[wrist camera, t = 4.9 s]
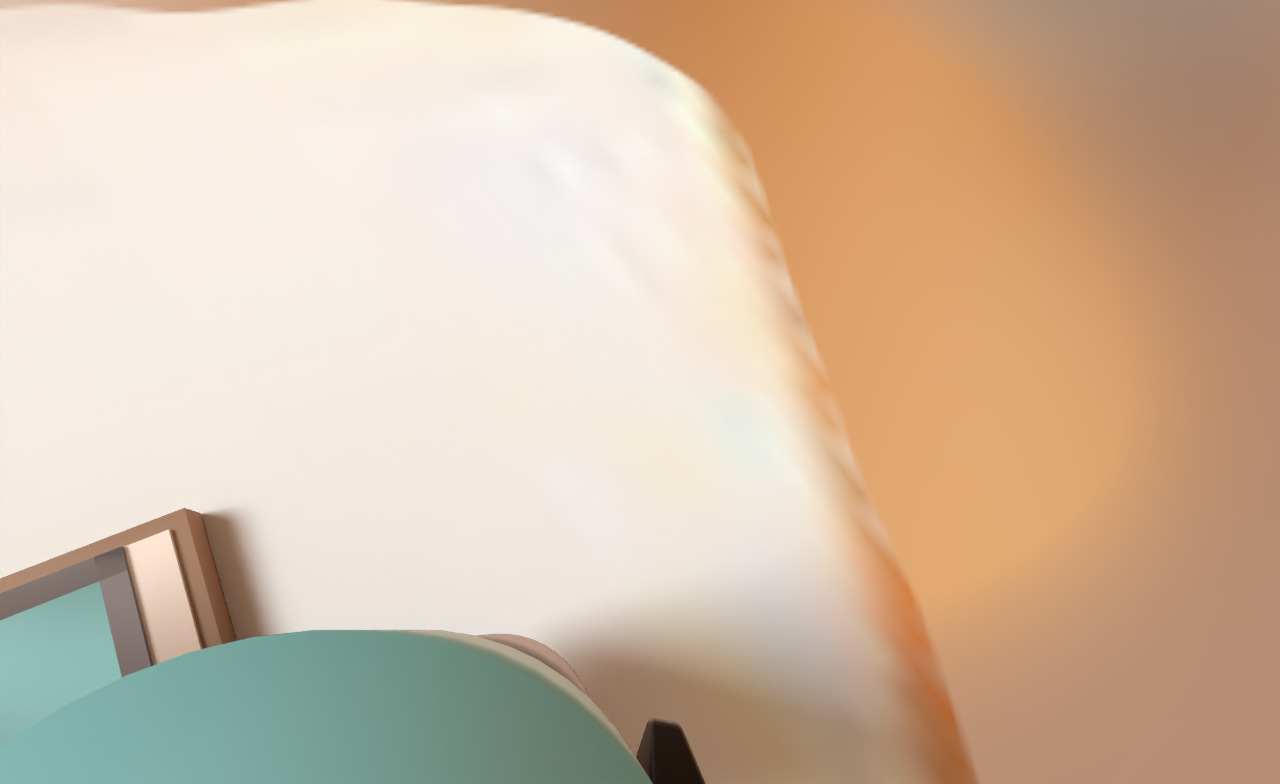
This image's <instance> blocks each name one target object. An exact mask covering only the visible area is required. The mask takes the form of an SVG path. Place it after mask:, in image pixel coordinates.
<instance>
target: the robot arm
mask: <svg viewBox="0 0 1280 784" xmlns="http://www.w3.org/2000/svg"><path fill="white" fill-rule="evenodd" d="M636 758H637V760H638V761H639V763H640V765H641V766H642V768H643V769H644V771H645V772H646V774H647V775H648V777H649V778H650V780H651V782H652V783H653V784H705V781H704V779H703V777H702V774H701V772H700V769H699V767H698V765H697V762H696V760H695V758H694V755H693V753H692V751H691V748H690V746H689V744H688V741H687V739H686V737H685V734H684V732H683V730H682V728H681V726H680V725H679V724H678V723H675V722H671V721H666V720H661V719H656V718H652V719H650V720H649V721H648V723H647V725H646V728H645V731H644V735H643V738H642V741H641V744H640V747H639V750H638V753H637V756H636Z"/></svg>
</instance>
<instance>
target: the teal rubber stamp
mask: <svg viewBox="0 0 1280 784" xmlns="http://www.w3.org/2000/svg"><path fill="white" fill-rule="evenodd" d="M0 784H653V783H652V782H651V780H650V778H649V777H648V775H647V774H646V772H645V771H644V769H643V768H642V766H641V765H640V763H639V761H638V760H637V758H636V757H635V755H634V754H633V752H632V751H631V749H630V748H629V746H628V745H627V743H626V742H625V740H624V739H623V737H622V736H621V734H620V733H619V731H618V730H617V728H616V727H615V726H614V725H613V724H612V723H611V721H610V720H609V719H608V718H607V717H606V716H605V714H604V713H603V712H602V711H601V710H600V709H599V708H598V706H597V705H596V704H595V703H594V702H593V701H592V700H591V699H590V697H589V695H588V693H587V691H586V689H585V688H584V686H583V684H582V682H581V680H580V679H579V677H578V676H577V674H576V673H575V671H574V670H573V669H572V668H571V667H570V665H569V664H568V663H567V662H566V661H565V660H564V659H563V658H562V657H561V656H559V655H558V654H557V653H556V652H555V651H553V650H551V649H550V648H548V647H547V646H545V645H543V644H541V643H539V642H537V641H535V640H532V639H529V638H526V637H522V636H517V635H511V634H489V635H478V636H474V635H467V634H461V633H455V632H448V631H442V630H312V631H303V632H294V633H285V634H276V635H267V636H258V637H251V638H246V639H242V640H238V641H234V642H230V643H226V644H221V645H217V646H213V647H209V648H205V649H200V650H196V651H192V652H189V653H186V654H183V655H181V656H178V657H175V658H172V659H170V660H167V661H164V662H161V663H159V664H156V665H153V666H150V667H148V668H145V669H142V670H140V671H137V672H134V673H131V674H129V675H126V676H124V677H122V678H120V679H118V680H116V681H114V682H112V683H110V684H108V685H106V686H104V687H102V688H100V689H98V690H96V691H94V692H92V693H90V694H88V695H86V696H84V697H82V698H80V699H78V700H76V701H74V702H72V703H70V704H68V705H66V706H64V707H62V708H60V709H59V710H57V711H55V712H54V713H52V714H51V715H49V716H48V717H46V718H44V719H43V720H41V721H40V722H38V723H37V724H35V725H33V726H32V727H30V728H29V729H27V730H25V731H24V732H22V733H21V734H19V735H18V736H16V737H14V738H13V739H11V740H10V741H8V742H6V743H5V744H3V745H2V746H0Z"/></svg>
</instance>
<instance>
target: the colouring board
mask: <svg viewBox="0 0 1280 784" xmlns="http://www.w3.org/2000/svg"><path fill="white" fill-rule="evenodd" d="M234 641H236V638H235V634H234V631H233V627H232V624H231V620H230V617H229V613H228V609H227V606H226V602H225V599H224V595H223V592H222V588H221V585H220V581H219V578H218V574H217V571H216V567H215V564H214V560H213V557H212V553H211V549H210V546H209V542H208V539H207V535H206V532H205V528H204V525H203V521H202V518H201V514H200V513H198V512H195V511H192V510H189V509H186V508H183V509H181V510H178V511H175V512H173V513H170V514H167V515H165V516H162V517H160V518H157V519H154V520H152V521H149V522H147V523H144V524H141V525H139V526H136V527H134V528H131V529H128V530H126V531H123V532H121V533H118V534H115V535H113V536H110V537H107V538H105V539H102V540H100V541H97V542H94V543H92V544H89V545H87V546H84V547H81V548H79V549H76V550H74V551H71V552H68V553H66V554H63V555H61V556H58V557H55V558H53V559H50V560H48V561H45V562H42V563H40V564H37V565H34V566H32V567H29V568H27V569H24V570H21V571H19V572H16V573H14V574H11V575H8V576H6V577H3V578H1V579H0V746H2V745H3V744H5V743H6V742H8V741H10V740H11V739H13V738H14V737H16V736H18V735H19V734H21V733H22V732H24V731H25V730H27V729H29V728H30V727H32V726H33V725H35V724H37V723H38V722H40V721H41V720H43V719H44V718H46V717H48V716H49V715H51V714H52V713H54V712H55V711H57V710H59V709H60V708H62V707H64V706H66V705H68V704H70V703H72V702H74V701H76V700H78V699H80V698H82V697H84V696H86V695H88V694H90V693H92V692H94V691H96V690H98V689H100V688H102V687H104V686H106V685H108V684H110V683H112V682H114V681H116V680H118V679H120V678H122V677H124V676H126V675H129V674H131V673H134V672H137V671H140V670H142V669H145V668H148V667H150V666H153V665H156V664H159V663H161V662H164V661H167V660H170V659H172V658H175V657H178V656H181V655H183V654H186V653H189V652H192V651H196V650H200V649H205V648H209V647H213V646H217V645H221V644H226V643H230V642H234Z"/></svg>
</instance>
